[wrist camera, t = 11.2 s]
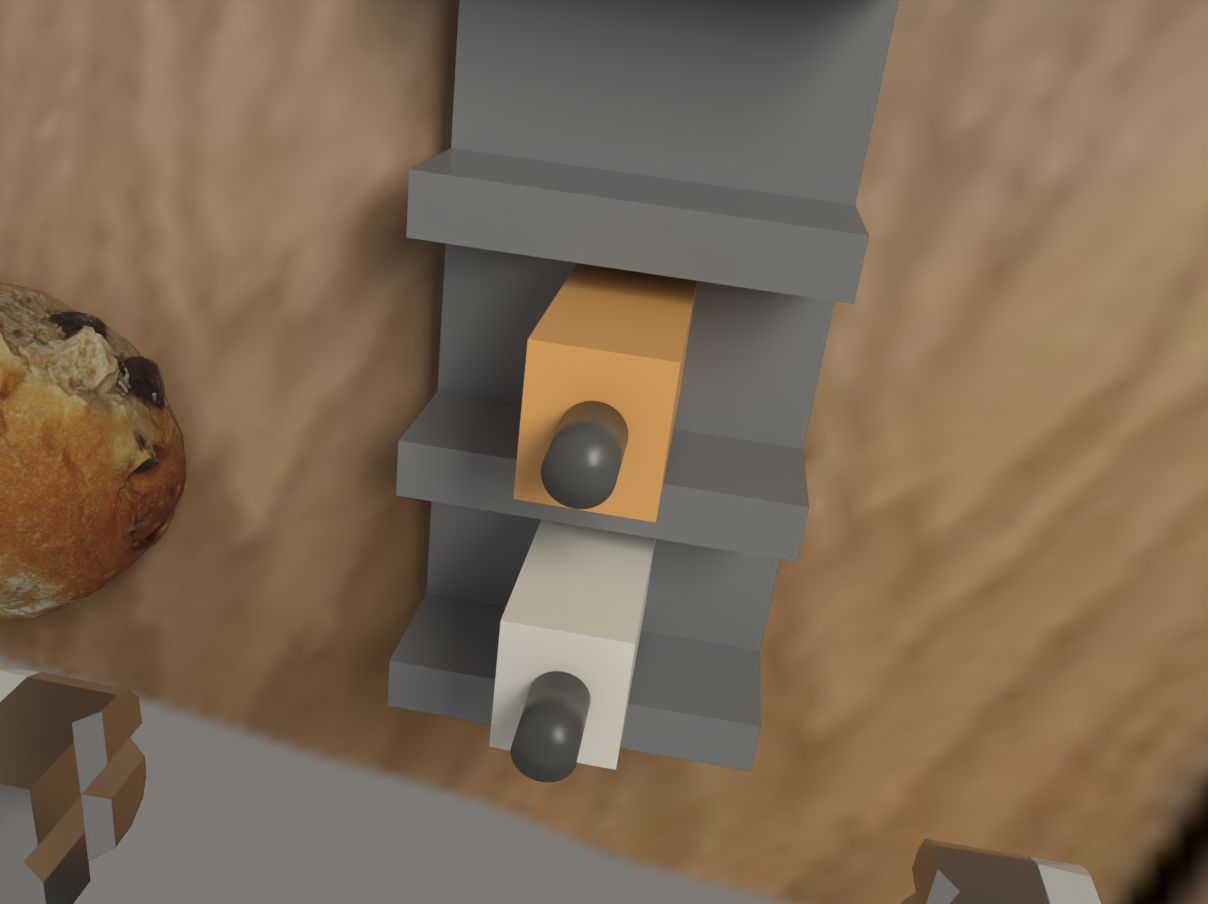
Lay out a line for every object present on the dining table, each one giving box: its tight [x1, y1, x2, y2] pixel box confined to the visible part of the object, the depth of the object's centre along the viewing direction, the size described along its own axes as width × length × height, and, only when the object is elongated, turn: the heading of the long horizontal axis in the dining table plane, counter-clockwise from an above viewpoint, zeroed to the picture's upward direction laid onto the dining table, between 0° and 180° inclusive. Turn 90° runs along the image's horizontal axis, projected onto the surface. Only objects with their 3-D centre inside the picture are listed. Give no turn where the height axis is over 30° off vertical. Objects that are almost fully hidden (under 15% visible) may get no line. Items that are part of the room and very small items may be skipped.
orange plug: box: [513, 263, 697, 522], centre depth 23 cm, size 3×4×9 cm
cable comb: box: [388, 0, 898, 772], centre depth 26 cm, size 10×21×4 cm, turn 173°
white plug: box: [489, 520, 656, 782], centre depth 26 cm, size 3×4×9 cm
